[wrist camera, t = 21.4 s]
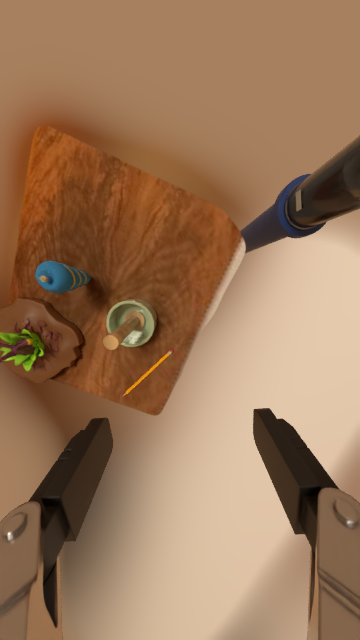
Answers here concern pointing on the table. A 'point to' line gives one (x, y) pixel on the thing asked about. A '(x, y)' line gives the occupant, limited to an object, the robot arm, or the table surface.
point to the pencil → (149, 372)
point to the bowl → (118, 318)
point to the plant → (37, 339)
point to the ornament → (60, 277)
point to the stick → (124, 329)
